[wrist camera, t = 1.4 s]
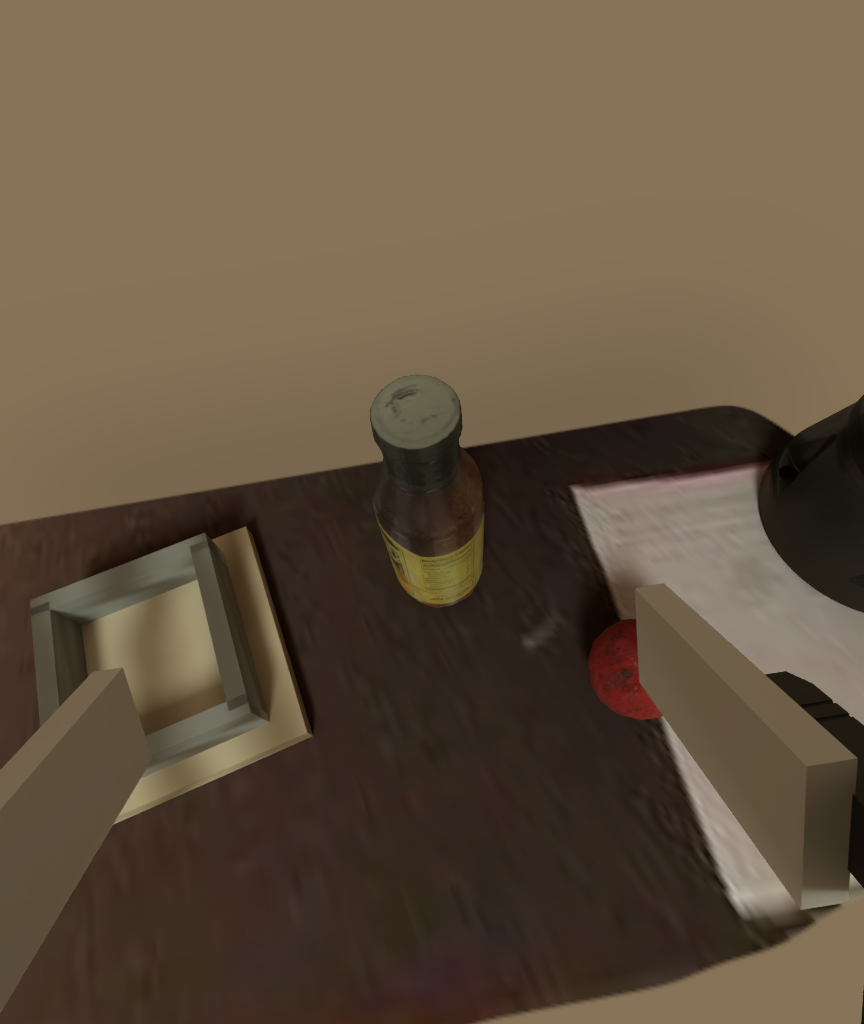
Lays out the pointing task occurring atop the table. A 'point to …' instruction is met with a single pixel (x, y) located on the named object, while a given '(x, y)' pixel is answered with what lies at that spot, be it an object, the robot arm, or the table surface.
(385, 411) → the sauce bottle
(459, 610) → the table surface
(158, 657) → the bottle holder
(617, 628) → the onion
